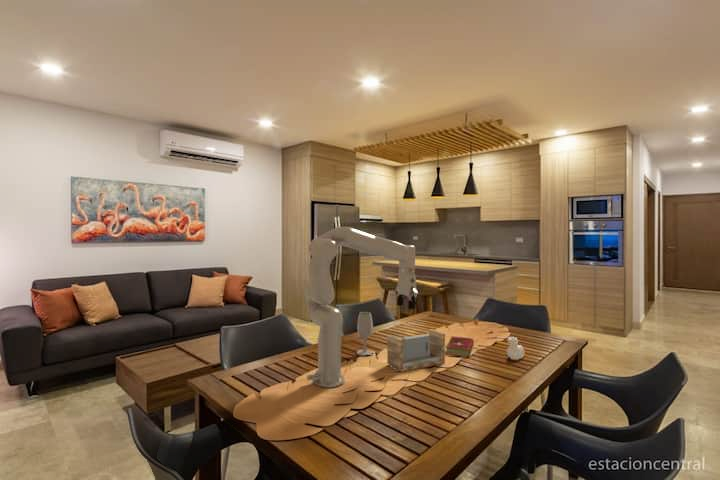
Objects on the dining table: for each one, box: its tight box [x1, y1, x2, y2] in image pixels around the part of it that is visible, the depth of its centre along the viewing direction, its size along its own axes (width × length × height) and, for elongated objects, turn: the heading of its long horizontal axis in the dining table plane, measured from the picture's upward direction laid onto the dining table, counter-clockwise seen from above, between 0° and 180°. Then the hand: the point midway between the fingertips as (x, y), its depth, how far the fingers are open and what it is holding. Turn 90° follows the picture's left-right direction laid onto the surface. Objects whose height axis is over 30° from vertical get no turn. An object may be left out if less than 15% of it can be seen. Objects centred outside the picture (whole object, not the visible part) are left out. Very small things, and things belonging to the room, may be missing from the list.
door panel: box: [401, 333, 430, 362], centre depth 178 cm, size 14×4×12 cm, turn 117°
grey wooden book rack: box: [387, 328, 446, 372], centre depth 178 cm, size 26×10×14 cm, turn 117°
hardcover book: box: [445, 335, 474, 357], centre depth 201 cm, size 12×21×4 cm, turn 158°
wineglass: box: [356, 311, 374, 357], centre depth 193 cm, size 9×9×21 cm
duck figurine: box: [506, 336, 525, 361], centre depth 188 cm, size 12×8×11 cm
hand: (405, 307), depth 177 cm, fingers open, 9 cm apart
